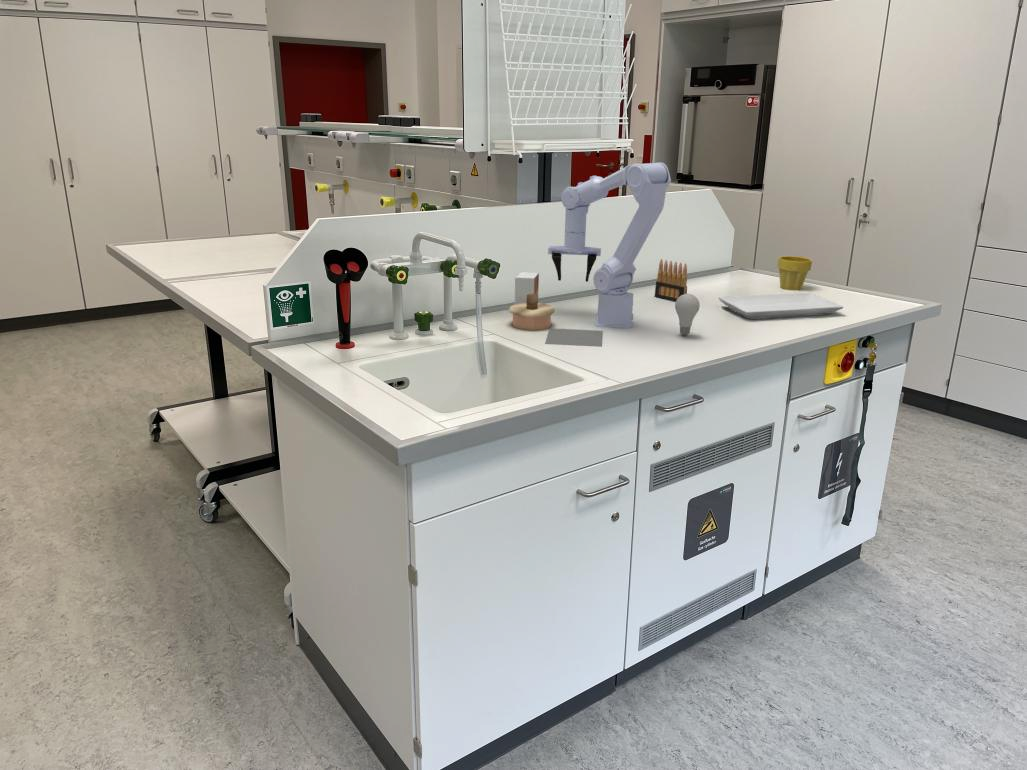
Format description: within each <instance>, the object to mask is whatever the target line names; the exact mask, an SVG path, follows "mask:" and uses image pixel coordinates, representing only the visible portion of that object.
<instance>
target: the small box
mask: <svg viewBox="0 0 1027 770" xmlns="http://www.w3.org/2000/svg"><path fill="white" fill-rule="evenodd" d="M539 278H540V273H539V272H526V271H525V272H524V271H520V272H519V273H518V274H517V275H516V276H514V304H519V303H527V295H528V294H537V295H538V296H539V282H540V281H539V280H540V279H539Z"/></svg>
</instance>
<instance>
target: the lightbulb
mask: <svg viewBox="0 0 1027 770" xmlns="http://www.w3.org/2000/svg"><path fill="white" fill-rule="evenodd" d="M700 307H701V306H700V301H699V299H698V297H696V296H695V295H694V294H693V293H687V294H684V295H681V296H680V297H679V298H678V299H677V300H676V302H674V308H675V311H676V314H677V316H678V322H679V323H678V324H679V334H681V335H682V336H684V337H686V336H688V335H690V333H691V327H692V325H693V321H694V319H695V316H697V314H698V312H699V311H700Z"/></svg>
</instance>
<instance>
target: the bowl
mask: <svg viewBox="0 0 1027 770" xmlns="http://www.w3.org/2000/svg"><path fill="white" fill-rule="evenodd" d="M551 324H552V314H551V315H548V316H543V317H524V316H518V315H514V314H512V326H513V327H515V328H517V329H521V330H531V331H537V330H546V329H548V328H550V327H551Z"/></svg>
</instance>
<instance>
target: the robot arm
mask: <svg viewBox="0 0 1027 770" xmlns="http://www.w3.org/2000/svg"><path fill="white" fill-rule="evenodd" d="M671 182H672V179H671V175H670V172H669V168H668V166H667V165H666V164H665V163H664V162H661V161H657V162H651V163H650V162H649V163H638V162H636V163H633V164H630V165H626V166H625V167H622V168H621V169H619V170H617V171H616V172H614V173H612V174H609V175H607V176H605V177H604V178H603V177H602V176H597V175H592V176H589V179H588V180H586V181H584V182H583V181H579V182H578V183H577V185H576V186H567V187H566V188H565V189H564V190H563V191H562V192H561V196H560V197H561V203H562V205H563V207H564V208H565V214H564V215H565V220H564V244H563V245H554V246H553V245H548V247H547V254H548V255H551V260H552V261H553V264H554V266H555V270H556V274H557V281H561V280H562V255H576V256H578V255H579V256H587V259H586V275H585V282H589V278H590V274H591V271H592V269H593V266H594V264H595V263H596V260H597V257H601V255H602V254H601V252H602V247H595V246H594V247H592V246H586V234H587V232H586V231H587V228H586V227H587V215H588V213H589V207H590V206H591V204H593V203H594V202H595V203H596V202H597V201H600V200H603V199H604V198H606V197H607V196H608V194H609V191H612V190H615V189H617V188H619V187H623V186H628V187H629V190H630V192H631V194H632V196H633V197H634V200H635V202H636V203H637V204H638V208H637V209H636V212H635V214H634V216H633V217H632V219H631V221H630V223H629V224H628V227H627V229H626V231H625V233H624V235H623V237H622V238H621V240H620V242H619V243H618V245H617V248H616V249H615V251H614V253H613V255H612V256H611V257H609V259H607V260H605V261H604V262H603V264H602V265H601V267H600V268H597V270H595V272H594V274H593V286H594V288H595V289H596V290H597V291H596V292H597V293H598V304H597V317H596V319H595V327H598V328H599V327H600V328H619V329H620V328H621V329H622V328H623V329H632V326H633V324H632V323H633V320H634V313H633V310H634V309H633V307H634V306H633V305H634V293H633V292H628V291H629V288H630V286H631V285H632V283H633V281H634V275H635V273H636V270H637V269H636V267H635V264H634V262H635V260H636V259H637V256H638V255H639V253H640V251H641V249H642V248H643V246H644V244H645V242H646V240H647V238H648V237H649V235H650V233H651V231H652V229H653V228H654V225H655V224H656V222H657V221H658V219H659V217H660V215H661V213H662V212H663V210H664V206H665V201H666V200H665V199H666V193H667V189H668V187H669V185H670V184H671Z"/></svg>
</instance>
